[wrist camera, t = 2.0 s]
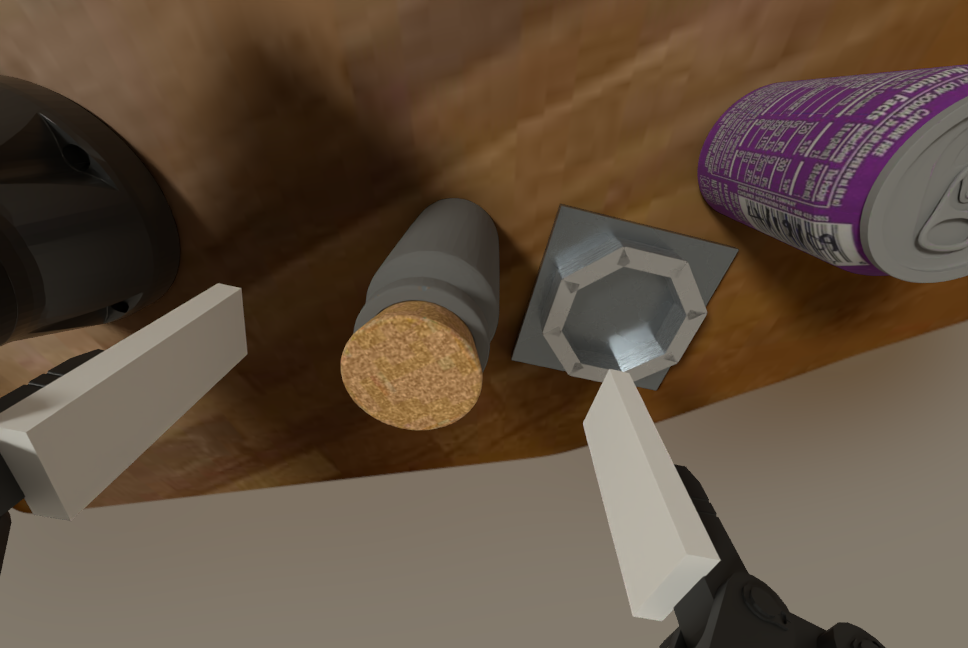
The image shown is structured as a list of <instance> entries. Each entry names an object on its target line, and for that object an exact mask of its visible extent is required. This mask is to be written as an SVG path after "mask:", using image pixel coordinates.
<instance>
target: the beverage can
mask: <svg viewBox="0 0 968 648" xmlns="http://www.w3.org/2000/svg"><path fill="white" fill-rule="evenodd" d="M698 183H699V187H700V190H701V193H702V195H703V197H704V199H705V200H706V202H707V203H708V204H709V205H710V206H711V207H712V208H713V209H714V210H716V211H717V212H719V213H721V214H723V215H725V216H727V217H730V218H732V219H734V220H736V221H738V222H741V223H743V224H745V225H747V226H749V227H751V228H754V229H756V230H758V231H760V232H762V233H764V234H767V235H769V236H771V237H773V238H775V239H777V240H780V241H782V242H784V243H786V244H788V245H790V246H793V247H795V248H797V249H799V250H801V251H803V252H806V253H808V254H810V255H812V256H814V257H816V258H819V259H821V260H823V261H825V262H827V263H830V264H832V265H834V266H836V267H839V268H841V269H843V270H846V271H849V272H852V273H856V274H861V275H871V276H886V275H891V276H893V277H895V278H898V279H901V280H905V281H909V282H917V283H934V282H942V281H948V280H953V279H957V278H961V277H964V276H967V275H968V65H957V66H947V67H936V68H926V69H915V70H905V71H895V72H884V73H874V74H863V75H853V76H842V77H832V78H822V79H811V80H801V81H790V82H780V83H774V84H770V85H766V86H763V87H761V88H758V89H756V90H754V91H752V92H750V93H748V94H747V95H745V96H744V97H742V98H741V99H739V100H738V101H737V102H735V103H734V104H733V105H732V106H731V107H729V108H728V109H727V110H726V111H725V112H724V114H723V115H722V116H721V117H720V118H719V119H718V121H717V122H716V123H715V125H714V126H713V128H712V129H711V131H710V132H709V134H708V136H707V138H706V140H705V142H704V145H703V147H702V150H701V153H700V157H699V162H698Z"/></svg>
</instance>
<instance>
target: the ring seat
mask: <svg viewBox="0 0 968 648" xmlns="http://www.w3.org/2000/svg"><path fill="white" fill-rule="evenodd" d="M738 250H739V249H737V248H735V247H733V246H729V245H725V244H721V243H717V242H713V241H709V240H705V239H701V238H697V237H693V236H689V235H685V234H681V233H677V232H673V231H668V230H664V229H660V228H656V227H652V226H648V225H644V224H640V223H636V222H632V221H628V220H624V219H620V218H616V217H612V216H608V215H604V214H600V213H596V212H592V211H588V210H584V209H580V208H576V207H572V206H568V205H564V204H560V206H559V209H558V212H557V215H556V218H555V221H554V224H553V227H552V230H551V234H550V237H549V240H548V243H547V246H546V249H545V252H544V255H543V258H542V261H541V265H540V268H539V271H538V274H537V277H536V280H535V283H534V286H533V289H532V293H531V296H530V299H529V302H528V305H527V308H526V311H525V314H524V317H523V320H522V324H521V327H520V330H519V333H518V336H517V339H516V342H515V345H514V348H513V351H512V355H511V360H514V361H519V362H523V363H528V364H533V365H538V366H542V367H547V368H552V369H557V370H561V371H566V372H567V373H568V375H569V376H574V377H579V378H584V379H589V380H593V381H598V382H603V381H604V379H605V377H606V375H607V373H608V370H609V369H613V370H617V371H622V372H626V373H629V374H630V376H631V378H632V380H633V382H634V384H635V386H638V387H642V388H647V389H652V390H657V389H658V387H659V385H660V383H661V382H662V380H663V378H664V377H665V375H666V373H667V371H668V370H669V368H670V366H672V365H675V364H677V362H679V360H680V359H681V357H682V355H683V353H684V352H685V350H686V348H687V347H688V345H689V343H690V342H691V340H692V338H693V337H694V335H695V333H696V332H697V330H698V328H699V327H700V325H701V323H702V322H703V320H704V318H705V317H706V315H707V310H706V308H705V307H706V305H707V303H708V302H709V300H710V298H711V296H712V295H713V293H714V291H715V290H716V288H717V286H718V284H719V283H720V281H721V279H722V278H723V276H724V274H725V273H726V271H727V269H728V267H729V266H730V264H731V262H732V261H733V259H734V257H735V255H736V254H737V252H738Z"/></svg>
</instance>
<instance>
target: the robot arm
mask: <svg viewBox="0 0 968 648" xmlns="http://www.w3.org/2000/svg"><path fill="white" fill-rule="evenodd" d="M179 259H180V246H179V238H178V232H177V228H176V225H175V221H174V218H173V215H172V213H171V210H170V208H169V205H168V203H167V201H166V199H165V197H164V195H163V193H162V191H161V190H160V188H159V186H158V185H157V183H156V181H155V180H154V178H153V177H152V175H151V174H150V172H149V171H148V170H147V168H146V167H145V166H144V164H143V163H142V162H141V161H140V159H139V158H138V157H137V156H136V155H135V154H134V152H133V151H132V150H131V149H130V148H129V147H128V146H127V145H126V144H125V143H124V142H123V141H122V140H121V139H120V138H119V137H118V136H117V135H116V134H115V133H114V132H113V131H112V130H111V129H109V128H108V127H107V126H106V125H105V124H104V123H102V122H101V121H100V120H98V119H97V118H96V117H95V116H93V115H92V114H90V113H89V112H88V111H86V110H85V109H83V108H82V107H80V106H79V105H77V104H75V103H74V102H72V101H71V100H69V99H67V98H65V97H63V96H62V95H60V94H58V93H56V92H54V91H52V90H49V89H47V88H45V87H42V86H40V85H37V84H34V83H32V82H29V81H25V80H22V79H18V78H14V77H9V76H3V75H0V346H2V345H4V344H7V343H9V342H12V341H17V340H22V339H28V338H33V337H38V336H43V335H48V334H53V333H58V332H64V331H69V330H74V329H79V328H84V327H89V326H94V325H100V324H105V323H109V322H113V321H116V320H119V319H122V318H125V317H127V316H129V315H131V314H133V313H135V312H137V311H139V310H141V309H142V308H144V307H146V306H148V305H150V304H151V303H153V302H155V301H156V300H158V299H159V298H160V297H162V296H163V295H164V294H165V293H166V292H167V290H168V289H169V288H170V286H171V285H172V283H173V281H174V279H175V277H176V274H177V271H178V266H179ZM247 354H248V353H247V343H246V332H245V321H244V311H243V300H242V290H241V288H238V287H234V286H229V285H224V284H220V283H218V284H216V285H214V286H213V287H211V288H209V289H208V290H206V291H204V292H202V293H201V294H199V295H197V296H196V297H194V298H192V299H191V300H189V301H187V302H186V303H184V304H182V305H181V306H179V307H177V308H176V309H174V310H172V311H171V312H169V313H167V314H166V315H164V316H162V317H161V318H159V319H157V320H156V321H154V322H152V323H151V324H149V325H147V326H145V327H144V328H142V329H140V330H139V331H137V332H135V333H134V334H132V335H130V336H129V337H127V338H125V339H124V340H122V341H120V342H119V343H117V344H115V345H114V346H112V347H110V348H109V349H107V350H100V349H97V350H94V351H91V352H88V353H85V354H82V355H79V356H76V357H73V358H70V359H68V360H67V361H65V362H63V363H61V364H60V365H58V366H56V367H54V368H53V369H51V370H49V371H48V373H47V374H42V375H40V376H38V377H37V378H35V379H33V380H31V381H30V382H29V384H28V385H23V386H21V387H19V388H17V389H15V390H14V391H12V392H10V393H8V394H7V395H5V396H3V397H1V398H0V573H1V569H2V564H3V559H4V554H5V550H6V545H7V541H8V536H9V531H10V526H11V518H10V514H9V512H8V510H10V509H11V508H12V507H13V506H14V505H16V504H17V503H18V502H19V501H21V500H22V499H23V498H25V500H26V502H27V504H28V505H29V507H30V509H31V511H32V512H33V514H34V515H39V516H45V517H50V518H56V519H62V520H69V521H71V520H72V519H73V518H74V517H75V516H76V515H77V514H79V513H80V512H81V511H82V510H83V509H84V508H85V507H86V506H87V505H88V504H89V503H90V502H91V501H92V500H93V499H94V498H96V497H97V496H98V495H99V494H100V493H101V492H102V491H103V490H104V489H105V488H106V487H107V486H108V485H109V484H110V483H111V482H113V481H114V480H115V479H116V478H117V477H118V476H119V475H120V474H121V473H122V472H123V471H124V470H125V469H126V468H127V467H128V466H129V465H131V464H132V463H133V462H134V461H135V460H136V459H137V458H138V457H139V456H140V455H141V454H142V453H143V452H144V451H145V450H146V449H147V448H149V447H150V446H151V445H152V444H153V443H154V442H155V441H156V440H157V439H158V438H159V437H160V436H161V435H162V434H163V433H164V432H166V431H167V430H168V429H169V428H170V427H171V426H172V425H173V424H174V423H175V422H176V421H177V420H178V419H179V418H180V417H181V416H182V415H184V414H185V413H186V412H187V411H188V410H189V409H190V408H191V407H192V406H193V405H194V404H195V403H196V402H197V401H198V400H199V399H200V398H202V397H203V396H204V395H205V394H206V393H207V392H208V391H209V390H210V389H211V388H212V387H213V386H214V385H215V384H216V383H217V382H218V381H220V380H221V379H222V378H223V377H224V376H225V375H226V374H227V373H228V372H229V371H230V370H231V369H232V368H233V367H234V366H235V365H237V364H238V363H239V362H240V361H241V360H242V359H243V358H244V357H245V356H246V355H247ZM583 426H584V430H585V434H586V438H587V442H588V445H589V449H590V453H591V457H592V461H593V464H594V469H595V472H596V476H597V480H598V484H599V488H600V492H601V495H602V499H603V503H604V507H605V511H606V514H607V519H608V523H609V526H610V530H611V534H612V538H613V542H614V546H615V550H616V553H617V557H618V561H619V565H620V568H621V572H622V577H623V580H624V584H625V588H626V592H627V596H628V600H629V603H630V607H631V611H632V615H633V616H635V617H640V618H646V619H652V620H658V621H663V620H664V619H665V618H666V617H667V616H668V614H669V613H670V612H671V611H672V610H673V609H674V611H675V614H676V617H677V620H678V623H679V627H678V628H677V629H676V630H675V631H674V632H673V633H672V634H671V635H670V636H669V637H668V638H667V639H666V640H665V641H664V642H663V643H662V644H661V645H660V648H667V647H668V646H669V647H668V648H885V647H884V646H883V645H882V644H881V643H880V642H879V641H878V640H877V639H876V638H874V637H873V636H871V635H870V634H869V633H867V632H866V631H864V630H863V629H861V628H859V627H857V626H855V625H852V624H850V623H837V624H836V625H834V626H833V627H831V628H830V629H828V630H827V631H826V630H824V629H822V628H820V627H818V626H816V625H814V624H812V623H810V622H808V621H806V620H804V619H802V618H800V617H798V616H796V615H794V614H792V613H790V612H789V610H788V608H787V606H786V605H785V604H784V603H783V602H782V600H781V599H780V597H779V596H778V595H777V594H776V593H775V592H774V591H773V590H772V589H771V588H770V587H769V586H767V584H765V583H764V582H763V581H761V580H759V579H758V578H756V577H754V576H753V575H750V574H749V573H748V572H747V570H746V568H745V566H744V564H743V563H742V561H741V559H740V557H739V555H738V553H737V551H736V549H735V547H734V546H733V544H732V542H731V540H730V538H729V536H728V535H727V533H726V531H725V529H724V527H723V525H722V523H721V521H720V519H719V518H718V517H716V512H715V510H714V508H713V506H712V505H711V503H709V499H708V497H707V495H706V493H705V491H704V490H703V488H702V486H701V484H700V482H699V481H698V480H697V479H696V478H695V477H694V476H693V475H692V474H691V472H690V471H689V470H688V469H687V468H686V467H685V466H679V465H675V464H673V462H672V460H671V458H670V456H669V454H668V452H667V450H666V448H665V446H664V443H663V441H662V439H661V437H660V435H659V433H658V431H657V429H656V427H655V425H654V423H653V421H652V419H651V417H650V415H649V413H648V411H647V409H646V406H645V404H644V402H643V400H642V398H641V396H640V394H639V392H638V390H637V388H636V386H635V384H634V382H633V380H632V378H631V376H630V374H629V373H626V372H622V371H617V370H613V369H609V370H608V373H607V375H606V377H605V379H604V381H603V383H602V385H601V387H600V389H599V391H598V393H597V395H596V397H595V399H594V401H593V403H592V405H591V408H590V410H589V412H588V414H587V416H586V418H585V420H584V422H583Z"/></svg>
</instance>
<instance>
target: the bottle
mask: <svg viewBox="0 0 968 648" xmlns="http://www.w3.org/2000/svg"><path fill="white" fill-rule="evenodd" d="M498 319H499V239H498V233H497V230H496V227H495V225H494V222H493V221H492V219H491V217H490V216H489V215H488V214H487V213H486V212H485V211H484V210H483V209H482V208H481V207H480V206H478V205H476V204H475V203H473V202H471V201H468V200H464V199H459V198H449V199H442V200H440V201H437V202H435V203H433V204H431V205H429V206H428V207H427V208H426V209H425V210H424V211H423V212H422V213H421V214H420V215H419V216H418V217H417V219H416V220H415V221H414V222H413V224H412V225H411V226H410V227H409V229H408V230H407V231H406V233H405V234H404V235H403V237H402V238H401V239H400V241H399V242H398V243H397V245H396V246H395V247H394V249H393V250H392V251H391V253H390V254H389V255H388V257H387V258H386V259H385V261H384V262H383V264H382V265H381V267H380V268H379V269H378V271H377V272H376V274H375V275H374V277H373V279H372V281H371V283H370V286H369V288H368V291H367V296H366V304H365V305H364V307H363V308H362V309H361V311H360V313H359V315H358V317H357V319H356V323H355V326H354V332H353V335H352V337H351V338H350V339H349V341H348V342H347V343H346V346H345V348H344V351H343V353H342V357H341V375H342V379H343V382H344V385H345V388H346V390H347V391H348V393H349V394H350V396H351V397H352V399H353V400H354V401H355V403H356V404H357V405H358V406H359V407H360V408H361V409H363V410H364V411H365V412H366V413H368V414H369V415H371V416H372V417H374V418H375V419H377V420H379V421H381V422H383V423H386V424H388V425H391V426H395V427H398V428H402V429H408V430H431V429H436V428H440V427H444V426H447V425H450V424H452V423H454V422H456V421H458V420H459V419H461V418H462V417H464V416H465V415H466V414H467V413H468V412H469V411H470V410H471V409H472V408H473V406H474V405H475V403H476V402H477V400H478V398H479V395H480V393H481V390H482V381H483V376H482V373H483V371H484V369H485V366H486V364H487V362H488V357H489V351H490V342H491V340H492V339H493V336H494V334H495V331H496V328H497V325H498Z"/></svg>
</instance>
